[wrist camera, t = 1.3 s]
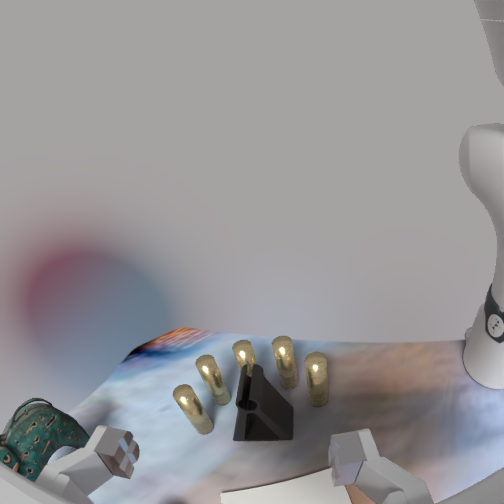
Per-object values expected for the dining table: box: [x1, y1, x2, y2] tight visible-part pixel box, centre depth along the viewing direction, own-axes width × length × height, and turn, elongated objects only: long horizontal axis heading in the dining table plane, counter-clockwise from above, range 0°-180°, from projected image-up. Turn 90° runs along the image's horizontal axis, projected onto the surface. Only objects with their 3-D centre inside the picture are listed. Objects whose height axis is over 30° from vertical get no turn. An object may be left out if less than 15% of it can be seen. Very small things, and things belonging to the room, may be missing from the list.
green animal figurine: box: [0, 398, 90, 483], centre depth 25 cm, size 20×6×20 cm, turn 162°
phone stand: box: [233, 364, 293, 441], centre depth 36 cm, size 9×6×12 cm, turn 84°
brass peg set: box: [173, 336, 328, 435], centre depth 41 cm, size 22×10×10 cm, turn 99°
